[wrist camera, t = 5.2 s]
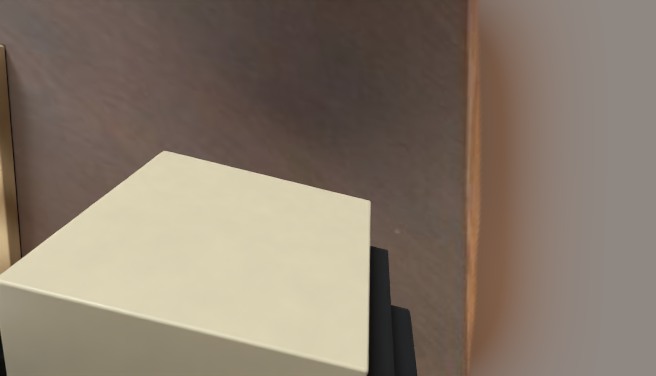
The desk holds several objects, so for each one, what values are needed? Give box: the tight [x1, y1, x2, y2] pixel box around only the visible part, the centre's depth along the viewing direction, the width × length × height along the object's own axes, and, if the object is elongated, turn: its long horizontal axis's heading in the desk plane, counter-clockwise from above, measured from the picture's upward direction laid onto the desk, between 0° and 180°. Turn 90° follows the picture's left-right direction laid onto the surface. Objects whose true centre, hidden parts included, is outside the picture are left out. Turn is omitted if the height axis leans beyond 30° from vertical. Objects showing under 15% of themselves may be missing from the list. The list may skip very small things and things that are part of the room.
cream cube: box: [0, 151, 371, 376], centre depth 9 cm, size 5×5×5 cm
